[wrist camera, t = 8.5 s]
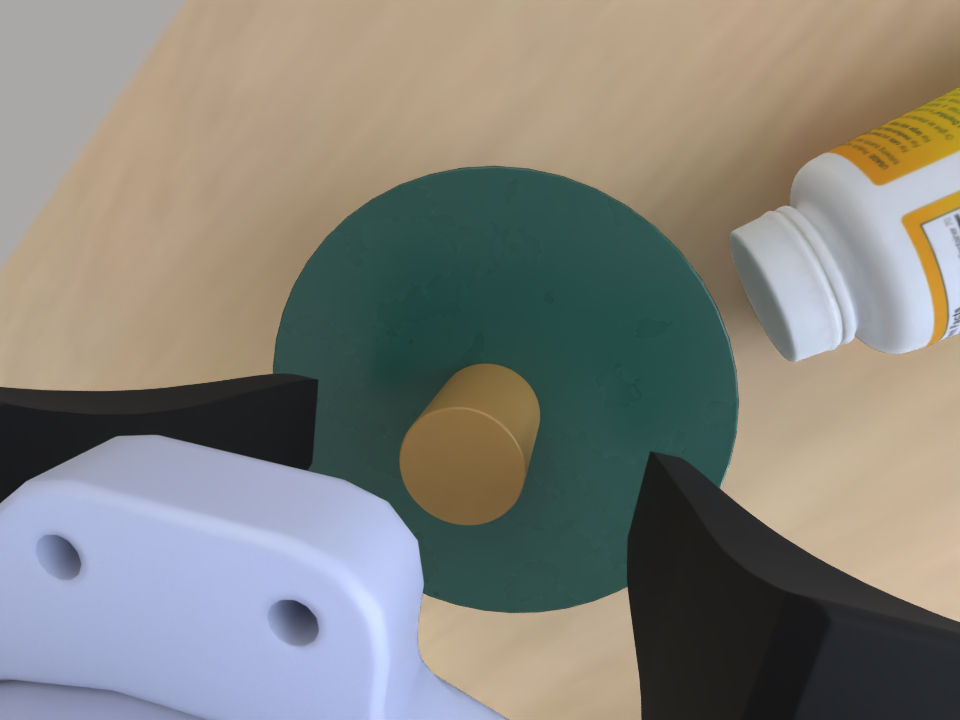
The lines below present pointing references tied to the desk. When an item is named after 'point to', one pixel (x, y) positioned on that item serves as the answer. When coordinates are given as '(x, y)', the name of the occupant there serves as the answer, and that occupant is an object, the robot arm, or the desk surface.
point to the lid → (509, 376)
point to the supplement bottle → (863, 242)
